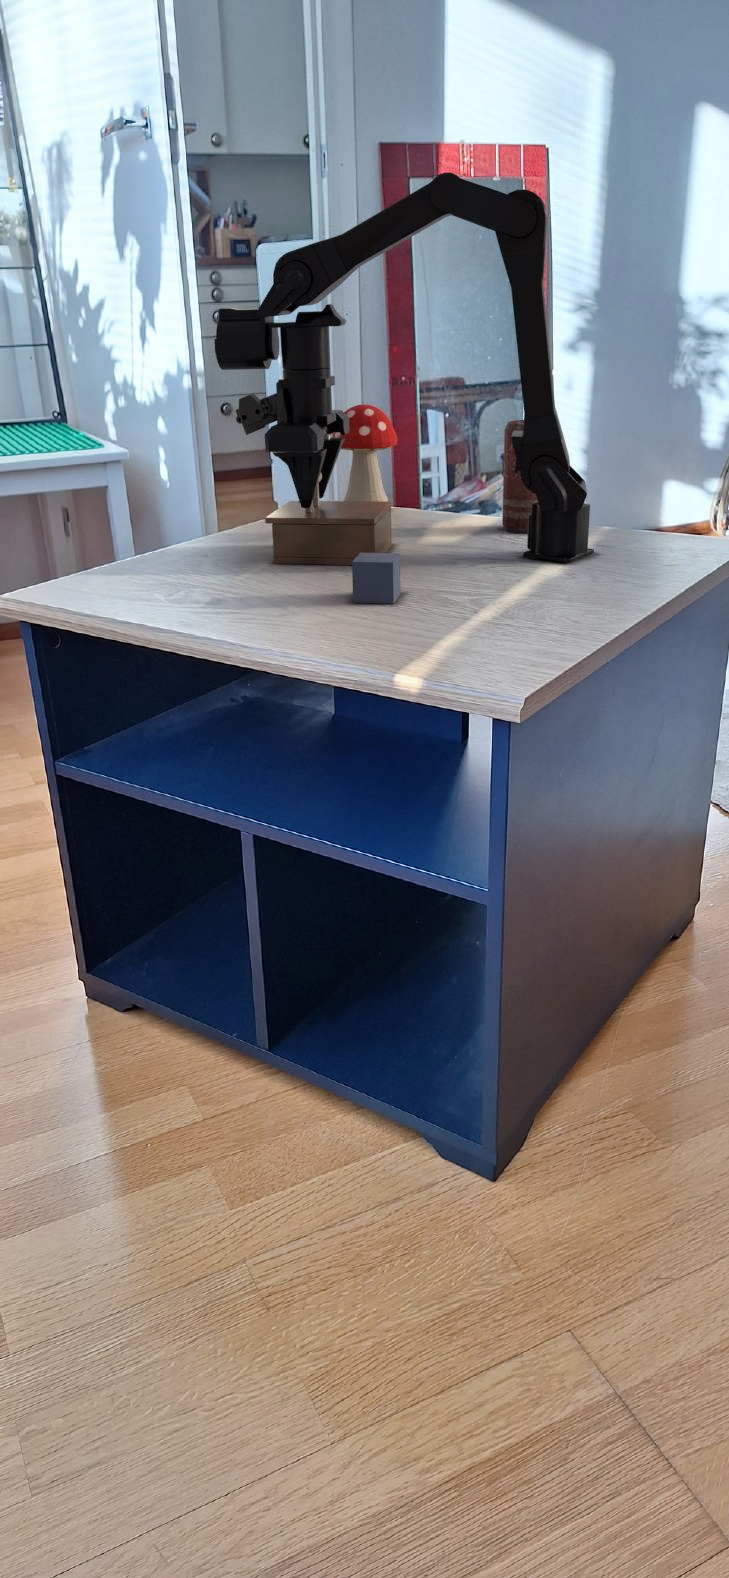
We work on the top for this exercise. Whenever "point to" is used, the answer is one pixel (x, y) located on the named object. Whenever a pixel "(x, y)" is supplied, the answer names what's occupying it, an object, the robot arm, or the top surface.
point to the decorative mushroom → (366, 451)
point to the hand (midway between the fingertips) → (312, 502)
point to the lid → (329, 512)
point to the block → (376, 578)
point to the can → (515, 487)
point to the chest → (329, 542)
